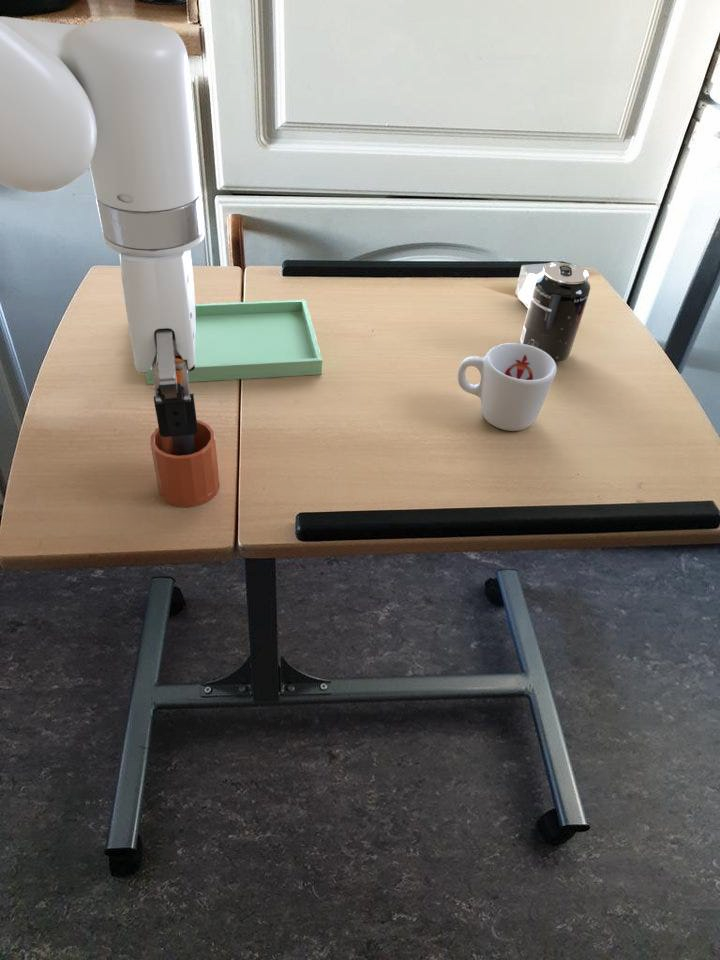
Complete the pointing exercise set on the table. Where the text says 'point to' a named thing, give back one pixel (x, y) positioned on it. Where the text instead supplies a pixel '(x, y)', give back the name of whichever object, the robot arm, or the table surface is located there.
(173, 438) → the marker
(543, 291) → the beverage can
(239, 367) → the tray
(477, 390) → the cup
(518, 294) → the small box
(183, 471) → the pen cup
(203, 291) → the table surface
